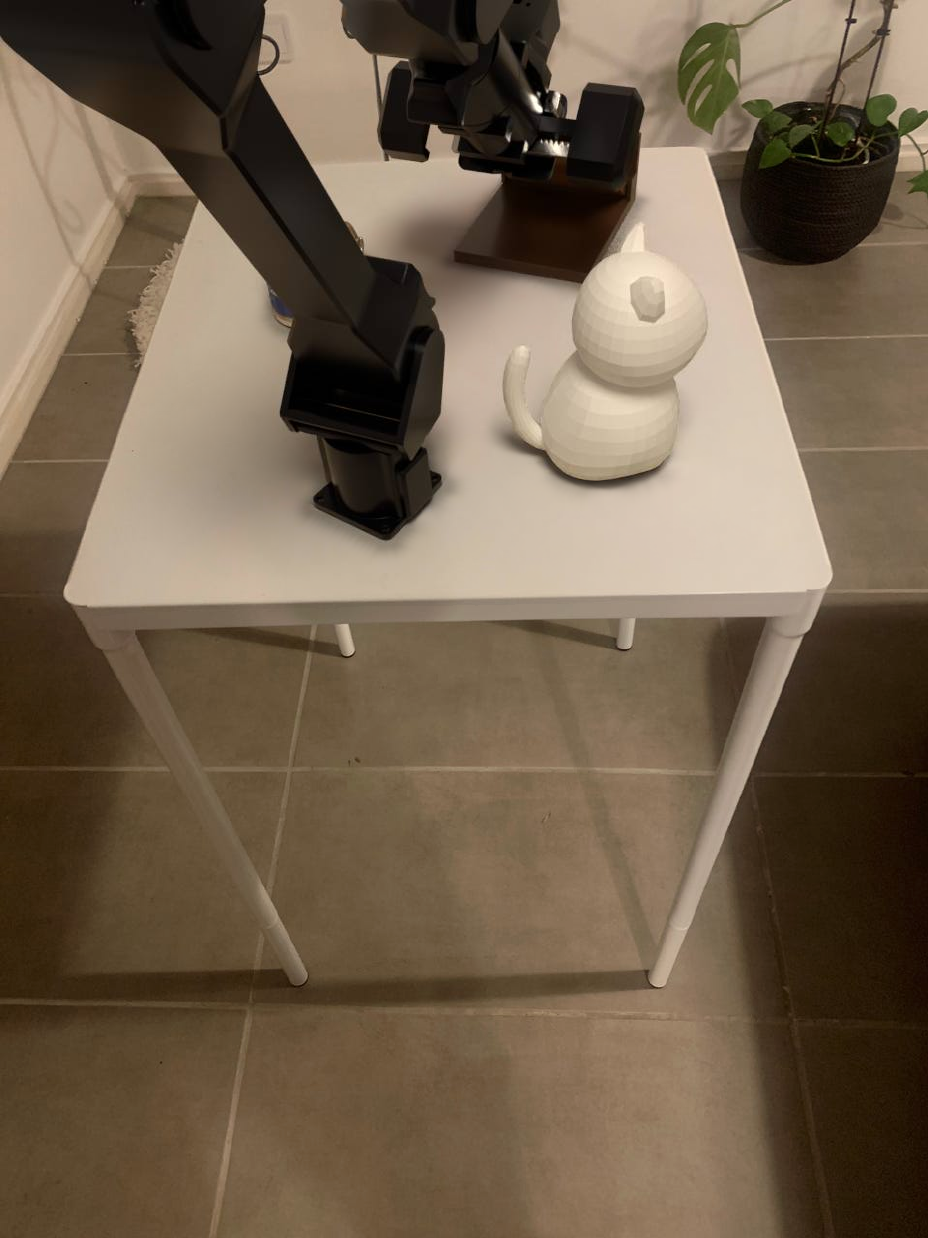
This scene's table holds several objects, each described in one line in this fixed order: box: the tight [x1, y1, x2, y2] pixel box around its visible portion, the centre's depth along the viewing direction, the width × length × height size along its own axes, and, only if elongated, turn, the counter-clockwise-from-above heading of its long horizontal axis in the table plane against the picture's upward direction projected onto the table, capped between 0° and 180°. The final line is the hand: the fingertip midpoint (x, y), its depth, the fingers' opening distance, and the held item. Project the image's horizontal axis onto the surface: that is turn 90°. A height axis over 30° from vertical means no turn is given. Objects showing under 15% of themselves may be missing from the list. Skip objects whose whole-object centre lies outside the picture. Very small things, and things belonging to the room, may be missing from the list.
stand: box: [453, 131, 642, 285], centre depth 80 cm, size 14×12×6 cm
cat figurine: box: [501, 221, 709, 481], centre depth 59 cm, size 9×12×15 cm
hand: (534, 165), depth 75 cm, fingers closed
